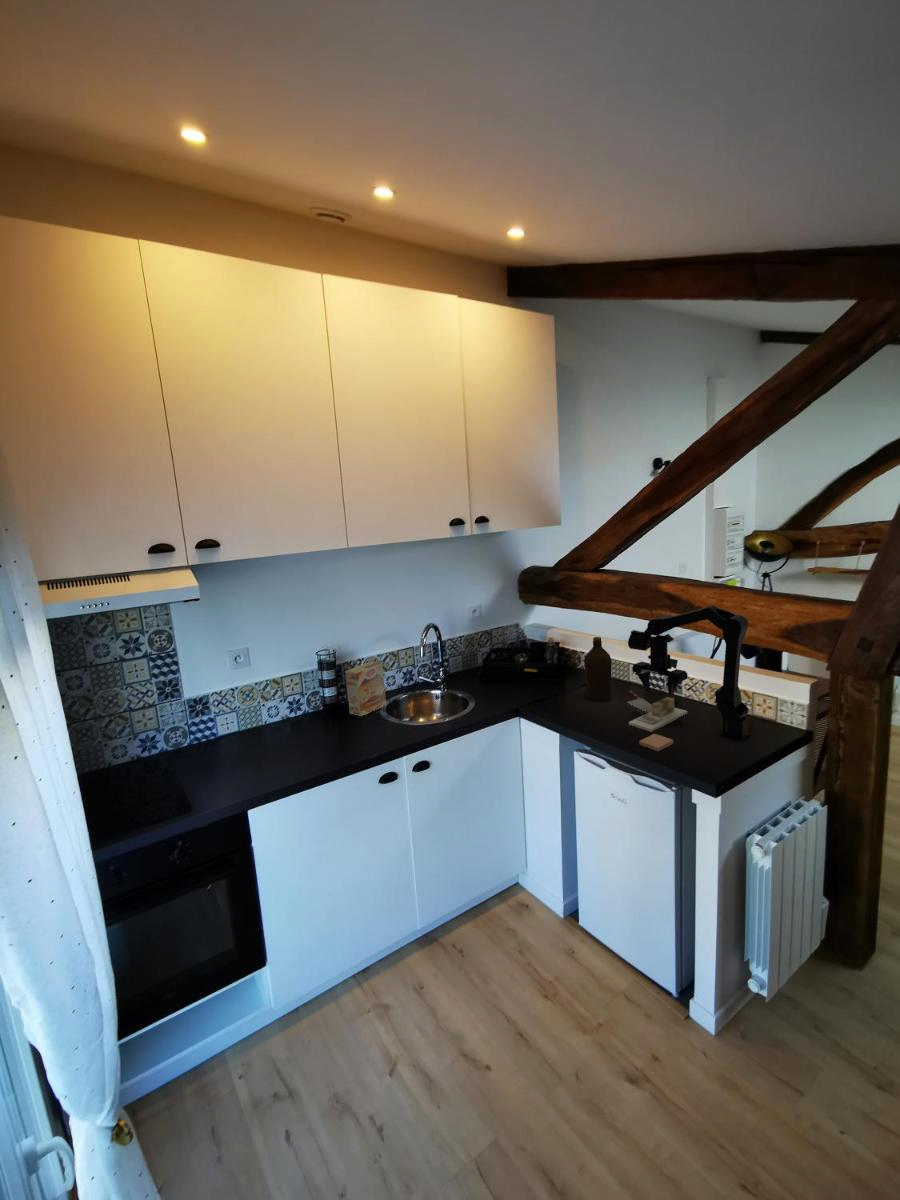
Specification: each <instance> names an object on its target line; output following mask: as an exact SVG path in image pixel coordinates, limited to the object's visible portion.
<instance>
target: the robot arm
mask: <svg viewBox="0 0 900 1200" xmlns="http://www.w3.org/2000/svg"><path fill="white" fill-rule="evenodd" d="M706 620H707V621H709V622H710V623H711V624H713V626H715V627H716V628H718V629H719V630H721V631H722V637H723V640H724V644H725V650H724V651H725V653H724V666H723V677H722V679H723V680H722V686H720V687H719V688H717V689H716V690H715V693H714V695H715V700H714V704H716V705H715V706H716V709H717V710H718V711H719V712H720V715H721V717H722V720H721V732H720V735H721V736H723V737H728V738H730V739H734V740H737V741H741V740H743V739H744V738H746V737H748V736H749V735H750V732H748V717H746V715H748V713H749V711H750V708H749V707H748V706H747V705H746V704H745V703H744V702H743V701H742V693H741V690H740V688H739V677H740V663H741V654H742V653H741V652H742V650H741V649H742V643H743V641H744V639H745V637H746V635H747V631H748V627H749V622H748V619H746V617H745V616H743V615H740V614H735V613H733V612H730V611H727V610H725V609H721V608H720V607H717V606H715V605H709V606H706V607H704V608H702V607H701V608H698V609H696V610H695V609H694V610H692V611H688V612H687V611H686V612H684V613H680V614H676V615H675V614H674V615H660V616H657V617H654V618H653V619H650V620H649V621H648V622H647V628H645V630H644V631H639V630H635V629H634V630H631V631H630V634H629V638H628V640H627V644H628V648H629V649H630V650H638V651H647V650H648V649H649V650H650V651H649V653H650V654H649V655H647V658H648V660H650V662H645V661H641V660H640V661H638V662H635V663H634V664H633V665H632V668H631V671H632V672H633V673H635V676H637V678H638V679H639V680H640V682H641V683H642V685H643V687H644V689H645V691H646V692H647V693H649V692H650V689H651V687H650V684H651V683H650V682H651V681H650V680H651V679H650V677H651V673H652V674H653V673H654V674H657V675H660V676H661V675H662V676H664V677H667V679H668V680H667V681H666V682H667V690H668V691H667V692H668V697H670V698H674V694H675V691H676V689H677V687H678V685H679V683H681V682H684V681H685V680H688V675H689V674H688V672H687V671H686V670H682V669H679V668H677V667H678V661H679V660H678V659H674V658H671V655H670V654H668V651H669V650H668V643H670V642H672V641H674V638H673V636H671V635H670V634H669V633H666V632H668V631H671V630H672V629H675V628H677V627H681V626H686V625H691V624H694V623H699V622H703V621H706ZM663 633H666V634H665V635H662V634H663ZM672 668H673V670H671V669H672Z"/></svg>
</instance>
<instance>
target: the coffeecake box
mask: <svg viewBox="0 0 900 1200" xmlns="http://www.w3.org/2000/svg"><path fill="white" fill-rule="evenodd" d="M344 673H345V680H346V689H347V698H348V709H349V715H350V714H354V715H358V716H363V715H366V714H368V713H370V712H372V711H375V710H377V709H379V708H381V707H383V706H384V705H386V706H387V699H386V698H387V697H386V687H385V679H384V667H383V663H382V662H378V661H368V662H366V663H363V664H360V665H358V666H356V667H352V668H350V669H347V670H345V671H344Z"/></svg>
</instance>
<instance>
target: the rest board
mask: <svg viewBox="0 0 900 1200" xmlns="http://www.w3.org/2000/svg"><path fill="white" fill-rule="evenodd" d="M647 714H650V715H652V711H651V712H649V713H647ZM685 714H686V715H688V710H685V709H682V708H678V707H674V712H672V713H670V714H668V715H666V716H663V717H661V718H663V720H662V721H660V722H658V723H656V724H654V725H649V724H646V723H643V722H640V721H638V720H637V719H638V718H640V717H642V716H644V714H643V715H641V716H639V717H636V718H634V719H631V720H630V721H628V725H629V726H631V725H632V727H634V726H635V728H637V729H640V730H641V729H642V730H644V731H647V732H650V733H652V732H654V731H656V730H658V729H660V728H662V727H664V726H666V725H667V724H670V723H671V722H674V721H675V720H677V718H678V719H679V717H680V718H681V716H682V717H684V716H686V715H685ZM645 715H646V714H645ZM683 715H684V716H683Z"/></svg>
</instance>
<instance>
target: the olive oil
mask: <svg viewBox="0 0 900 1200" xmlns="http://www.w3.org/2000/svg"><path fill="white" fill-rule="evenodd" d="M602 642H603V641H602V637H601V636H594V637H593V638H592V648H590V650H589V651H588V652H587V653H586V654H585V657H584V663H583V664H584V672H585V673H584V674H585V676H584V677H585V689H586V695H587V700H588V701H591V700H592V702H595V701H596V702H598V703H602V702H608V701H610V700H611V699H612V672H613V671H612V669H613V666H612V665H613V664H612V663H613V660H612V656H611V655H610V653H609V652H607V650H606V649H604V648H603V646H602V645H603V643H602ZM596 702H595V703H596Z"/></svg>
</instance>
